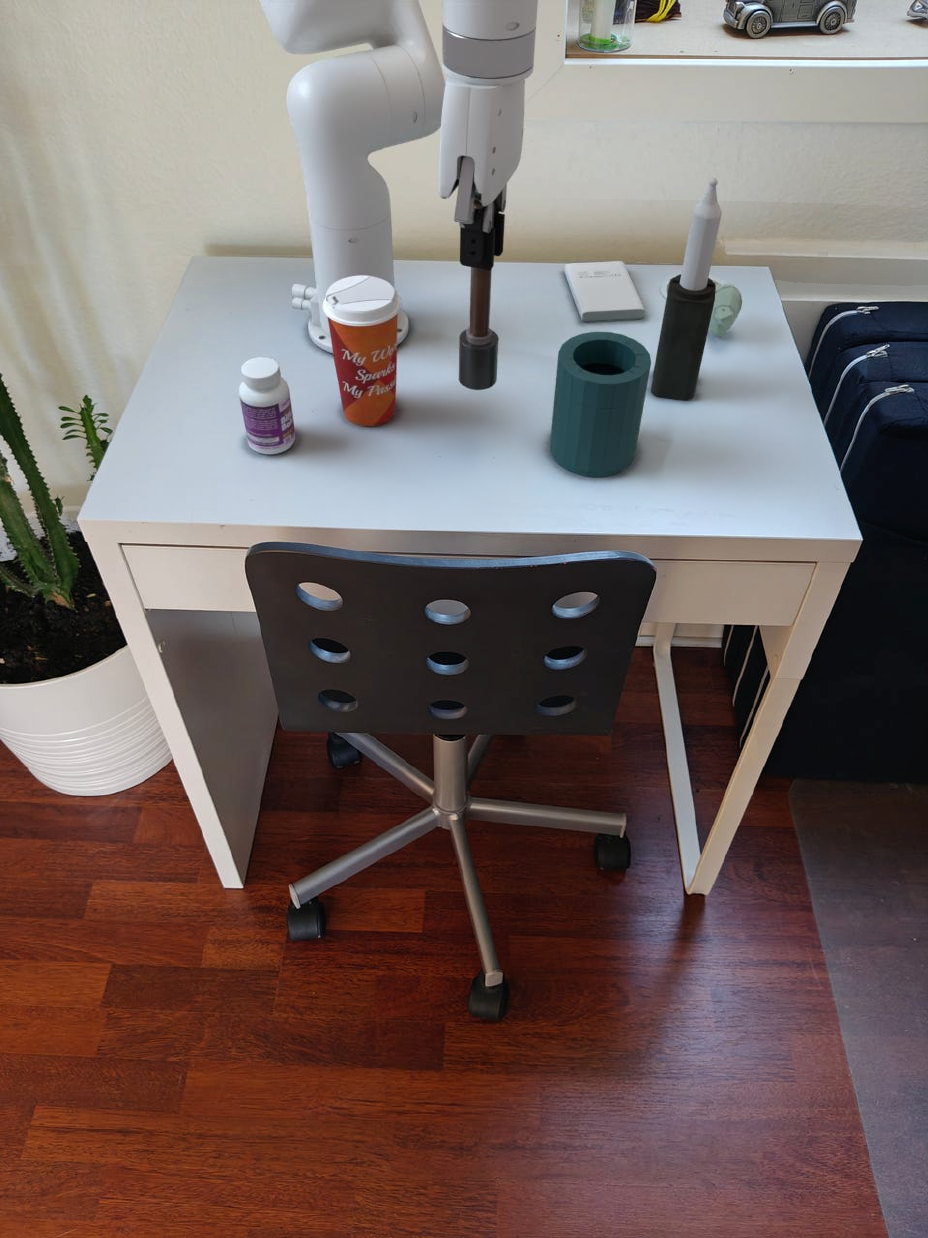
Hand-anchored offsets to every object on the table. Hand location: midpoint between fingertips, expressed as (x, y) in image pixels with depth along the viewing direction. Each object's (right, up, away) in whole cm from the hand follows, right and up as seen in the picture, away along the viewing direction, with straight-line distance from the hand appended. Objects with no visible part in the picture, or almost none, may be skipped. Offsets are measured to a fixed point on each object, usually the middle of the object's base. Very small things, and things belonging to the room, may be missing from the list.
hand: (481, 257), depth 95 cm
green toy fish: (+31, +2, +32) cm, 44 cm away
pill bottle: (-23, -15, +17) cm, 32 cm away
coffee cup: (-13, -10, +21) cm, 26 cm away
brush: (0, -9, +10) cm, 14 cm away
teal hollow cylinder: (+13, -15, +16) cm, 26 cm away
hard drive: (+17, +9, +38) cm, 43 cm away
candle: (+23, -7, +25) cm, 35 cm away
